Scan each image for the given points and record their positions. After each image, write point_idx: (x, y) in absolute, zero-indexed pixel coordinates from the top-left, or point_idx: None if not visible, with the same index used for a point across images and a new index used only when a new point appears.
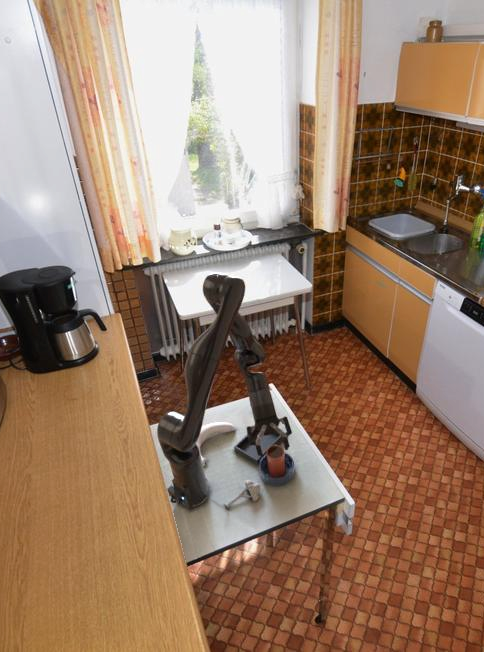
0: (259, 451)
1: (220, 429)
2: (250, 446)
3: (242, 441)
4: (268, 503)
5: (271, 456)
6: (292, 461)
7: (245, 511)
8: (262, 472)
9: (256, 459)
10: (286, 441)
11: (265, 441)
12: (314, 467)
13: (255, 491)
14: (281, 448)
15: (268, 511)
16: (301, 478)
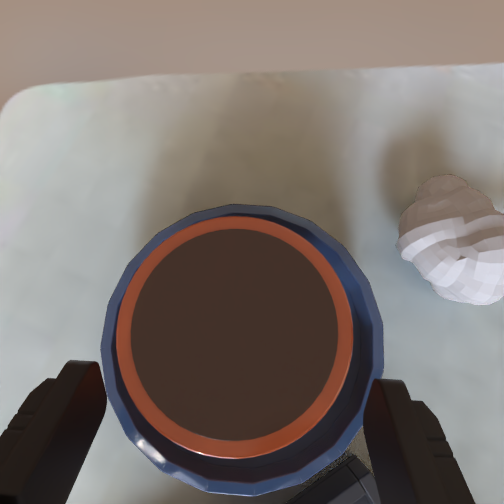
0: (421, 444)
1: None
2: None
3: None
4: (359, 164)
5: (305, 272)
6: (114, 314)
7: (488, 165)
8: (370, 306)
9: (372, 486)
10: (19, 450)
11: None
12: (17, 283)
13: (443, 197)
14: (138, 348)
15: (371, 124)
16: (127, 241)
